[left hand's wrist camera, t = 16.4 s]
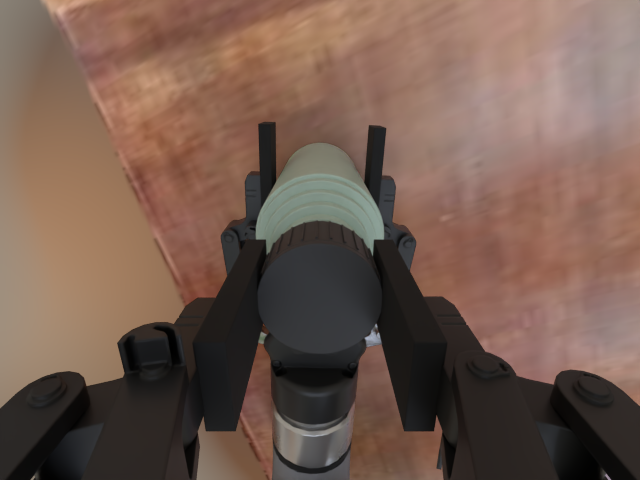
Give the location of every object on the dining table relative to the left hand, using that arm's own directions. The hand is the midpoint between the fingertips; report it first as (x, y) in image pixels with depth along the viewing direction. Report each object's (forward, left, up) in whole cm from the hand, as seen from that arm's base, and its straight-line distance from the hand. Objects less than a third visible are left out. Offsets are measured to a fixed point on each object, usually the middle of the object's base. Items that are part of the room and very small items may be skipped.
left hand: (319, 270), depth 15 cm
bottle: (0, 0, -18) cm, 18 cm away
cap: (0, 0, +2) cm, 2 cm away
